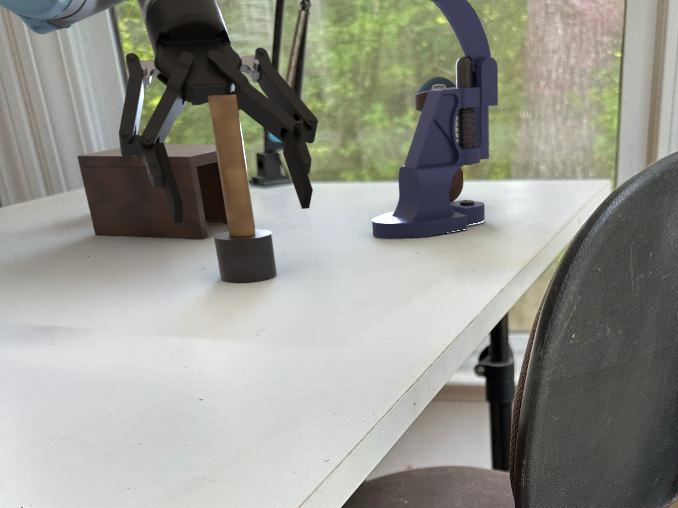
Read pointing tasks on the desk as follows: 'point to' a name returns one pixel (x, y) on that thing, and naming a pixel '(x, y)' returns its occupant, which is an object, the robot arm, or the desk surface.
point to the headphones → (419, 103)
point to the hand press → (447, 139)
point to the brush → (237, 202)
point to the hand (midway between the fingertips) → (244, 206)
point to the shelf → (153, 193)
